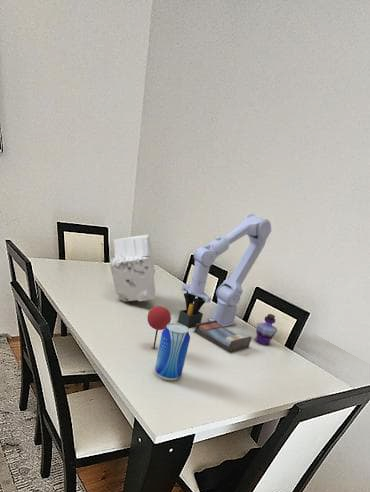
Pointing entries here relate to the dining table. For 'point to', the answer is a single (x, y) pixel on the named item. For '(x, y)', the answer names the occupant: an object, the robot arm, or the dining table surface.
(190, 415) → the dining table surface
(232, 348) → the bed
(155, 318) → the lollipop
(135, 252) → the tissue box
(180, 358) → the beer can
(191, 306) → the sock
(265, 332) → the potion bottle
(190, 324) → the bin
